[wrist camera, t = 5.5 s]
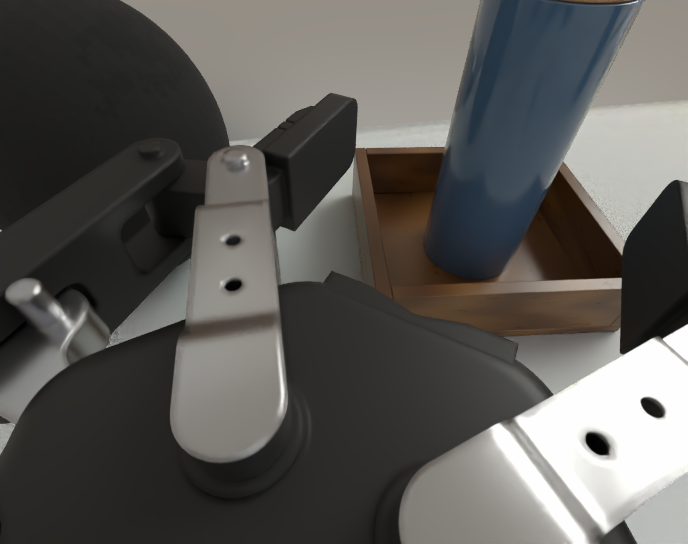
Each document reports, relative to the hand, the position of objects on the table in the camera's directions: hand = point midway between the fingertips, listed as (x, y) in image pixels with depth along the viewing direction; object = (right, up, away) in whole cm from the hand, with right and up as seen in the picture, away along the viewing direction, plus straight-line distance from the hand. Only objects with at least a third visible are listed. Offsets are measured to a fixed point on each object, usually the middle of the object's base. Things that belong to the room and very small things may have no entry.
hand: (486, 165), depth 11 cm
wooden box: (+4, -2, +16) cm, 17 cm away
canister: (+5, -1, +16) cm, 17 cm away
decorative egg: (-17, -2, +16) cm, 23 cm away
